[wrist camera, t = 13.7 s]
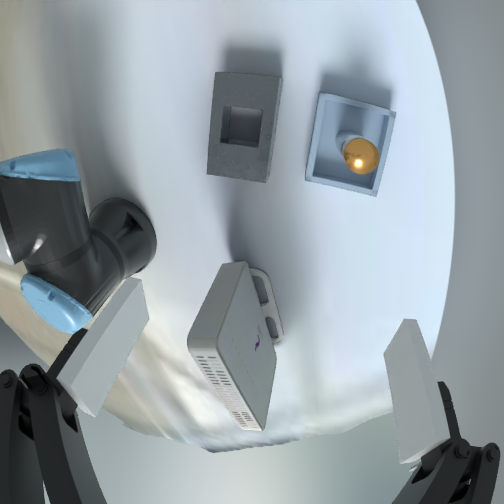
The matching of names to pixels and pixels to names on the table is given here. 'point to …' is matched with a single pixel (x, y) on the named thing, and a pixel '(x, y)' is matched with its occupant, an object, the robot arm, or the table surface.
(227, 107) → the grey socket block
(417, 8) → the table surface
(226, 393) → the network device
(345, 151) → the steel pin
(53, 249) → the robot arm
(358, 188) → the tray
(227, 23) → the table surface
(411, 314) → the table surface
